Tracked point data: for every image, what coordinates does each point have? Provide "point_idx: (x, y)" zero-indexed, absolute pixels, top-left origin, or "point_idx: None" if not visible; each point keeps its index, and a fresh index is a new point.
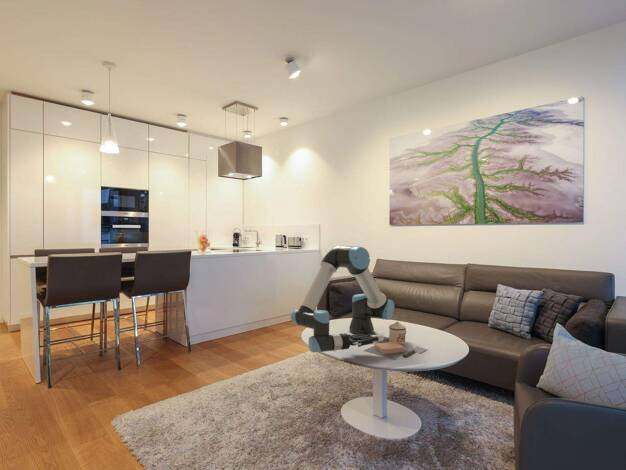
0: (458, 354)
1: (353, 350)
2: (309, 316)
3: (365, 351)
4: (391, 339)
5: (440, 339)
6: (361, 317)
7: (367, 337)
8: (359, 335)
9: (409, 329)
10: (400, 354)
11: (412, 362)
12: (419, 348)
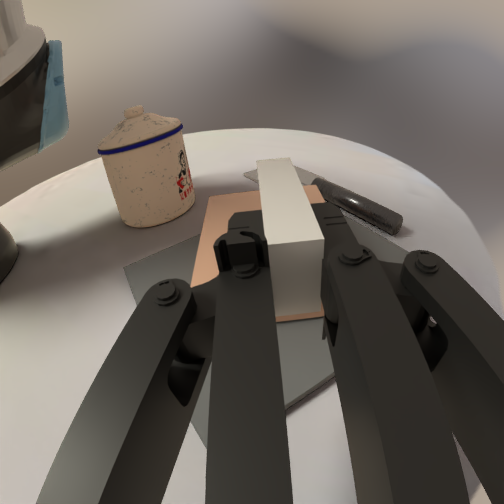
0: (336, 139)
1: None
2: None
3: None
4: (150, 205)
5: (206, 141)
6: None
7: (375, 324)
8: (124, 451)
9: (91, 173)
10: (352, 230)
11: (441, 224)
12: None
